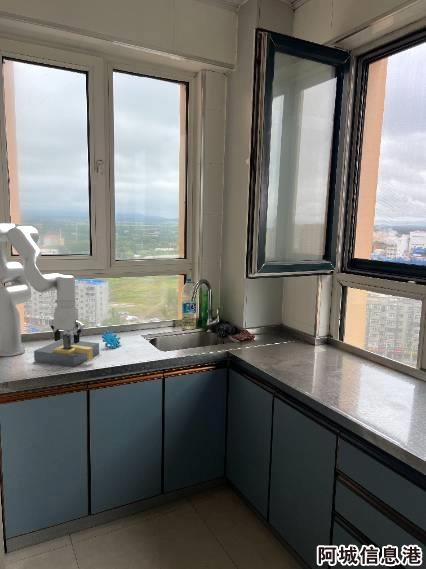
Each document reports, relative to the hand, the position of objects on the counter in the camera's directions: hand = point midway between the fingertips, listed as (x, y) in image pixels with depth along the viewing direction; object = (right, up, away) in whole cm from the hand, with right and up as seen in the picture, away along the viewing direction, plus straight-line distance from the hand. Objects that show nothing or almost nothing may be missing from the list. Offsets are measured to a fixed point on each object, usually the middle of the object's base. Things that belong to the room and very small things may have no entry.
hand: (66, 341), depth 188 cm
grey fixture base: (-2, -8, +6) cm, 10 cm away
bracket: (+4, -7, 0) cm, 8 cm away
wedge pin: (0, -9, +1) cm, 9 cm away
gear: (+14, -6, +23) cm, 28 cm away
